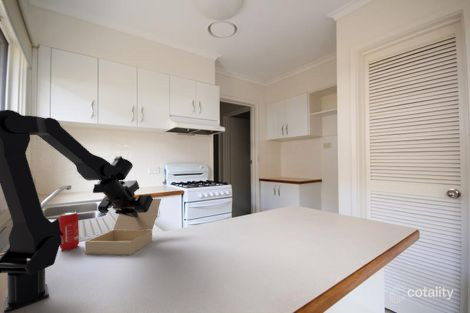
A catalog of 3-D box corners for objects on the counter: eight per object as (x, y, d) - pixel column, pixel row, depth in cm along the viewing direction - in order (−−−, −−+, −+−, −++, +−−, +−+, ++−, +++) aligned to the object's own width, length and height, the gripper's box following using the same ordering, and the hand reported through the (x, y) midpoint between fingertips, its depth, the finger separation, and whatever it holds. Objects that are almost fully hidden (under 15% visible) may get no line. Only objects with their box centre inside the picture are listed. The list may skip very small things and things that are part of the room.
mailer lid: (160, 198, 84) (161, 199, 84) (124, 199, 87) (125, 200, 87) (151, 229, 77) (152, 229, 77) (113, 229, 80) (113, 229, 80)
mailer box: (130, 255, 65) (129, 242, 65) (85, 254, 68) (85, 241, 68) (152, 241, 76) (152, 229, 77) (113, 240, 79) (113, 229, 80)
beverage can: (68, 251, 71) (67, 215, 71) (56, 251, 72) (55, 215, 72) (82, 245, 76) (81, 211, 76) (70, 245, 77) (70, 211, 77)
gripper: (149, 172, 75) (166, 198, 85) (103, 174, 78) (125, 200, 89) (135, 197, 67) (155, 223, 77) (85, 199, 70) (111, 224, 80)
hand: (136, 216), depth 81 cm, fingers closed, pressing on mailer lid
